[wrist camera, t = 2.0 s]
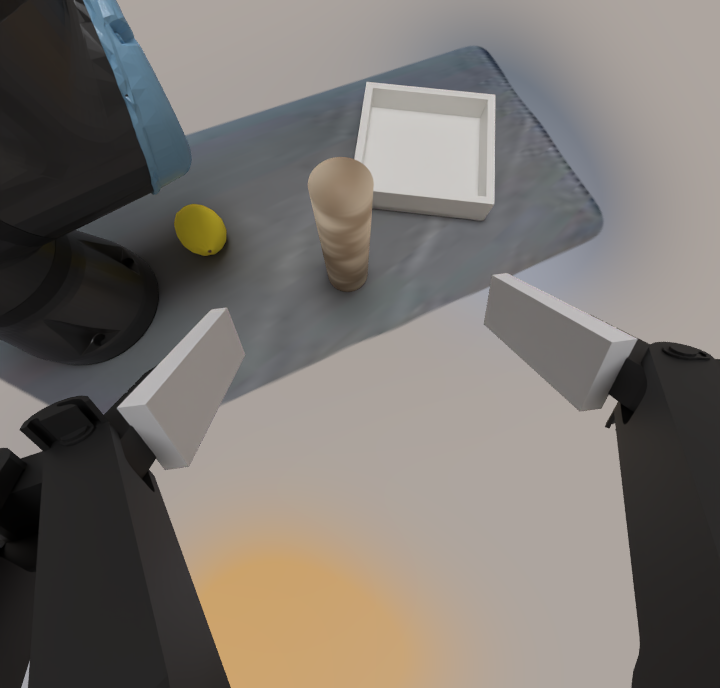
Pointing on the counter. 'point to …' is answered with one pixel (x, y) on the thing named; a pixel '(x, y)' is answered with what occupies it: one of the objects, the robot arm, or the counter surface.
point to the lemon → (200, 229)
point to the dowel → (343, 218)
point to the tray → (429, 150)
